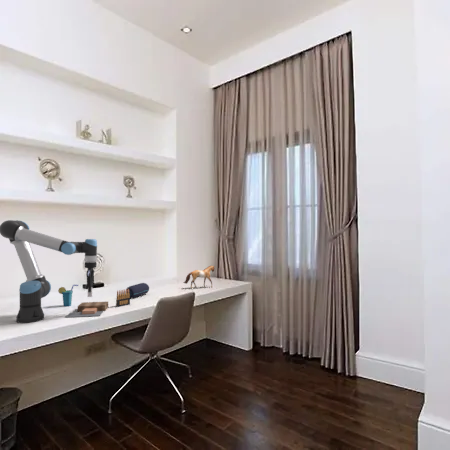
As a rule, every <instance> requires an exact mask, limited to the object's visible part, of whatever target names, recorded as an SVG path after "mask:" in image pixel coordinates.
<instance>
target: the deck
mask: <svg viewBox="0 0 450 450" xmlns="http://www.w3.org/2000/svg"><path fill="white" fill-rule="evenodd" d="M85 308H97V311H103V312H105V311H107V309H108V308H109V301H89V302H88V301H87V302H80V304H78V305H77V312H82V311H83V310H84V309H85Z"/></svg>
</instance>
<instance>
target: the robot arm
mask: <svg viewBox="0 0 450 450" xmlns="http://www.w3.org/2000/svg"><path fill="white" fill-rule="evenodd" d="M0 235H1V236H2V237H4V238H6V239H8V240H9V243H10V244H12V245H14V248H15V251H16V253H17V256H18V258H19V259H18V260H19V262H20V265H21V266H22V269H23V272H24V275H25V277H26V279H25V281H24V282H22V283H20V285H19V291H18V292H19V309H18V313H17V316H16V318H15V320H16V322H17V323H22V324H23V323H24V324H25V323H26V324H27V323H35V322H38V321H42V320H44V319H45V313H44V311H43V307H42V299H43V298H45V297H46V296H48V295H49V294H50V292H51V291H52V290H51V289H52V285H51V282H50V281H48V280H47V279H46V276H45V275H44V274H42V272H41V270H40V268H39V265H38V263H37V262H38V261H37V260H36V257H35V254H34V251H33V250H32V249H33V248H32V246H31V244H34V245H37V246H40V247H44V248H46V249H50V250H53V251H57V252H59V253H63V254H64V255H67V256H71V255H73V254H84V268H85V269H87V270H86V273H85V275H86V288H87V298H92V297H93V287H95V286H94V279H95V278H94V277H95V270H94V269H95V268H97V264H98V263H97V260H98V256H97V254H98V240H97V239H95V238H87V239H86V238H85V241H67V240H64V239H61V238H59V237H58V238H57V237H54V236H52V235H48V234H44V233H41V232H37V231H35V230H32V229H30V227H29V224H28V223H26V222H25V221H22V220H12V219H10V220H9V219H8V220H5V221H3V222H2V223H1V224H0Z"/></svg>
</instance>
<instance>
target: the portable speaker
mask: <svg viewBox="0 0 450 450" xmlns="http://www.w3.org/2000/svg"><path fill="white" fill-rule="evenodd" d="M126 289H127V291H128V289H129V298H130V299H135V298H138V297H141V296H144V295H146V294H148V292H149V291H150V286H149V284H147V283H145V282H140V283H138V284H137V283H136V284H133V285H129V286H128V287H127V288H126Z"/></svg>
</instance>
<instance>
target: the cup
mask: <svg viewBox="0 0 450 450" xmlns="http://www.w3.org/2000/svg"><path fill="white" fill-rule="evenodd" d="M75 286H76V287H79V284H72V287H71V289H70V290H67V289H66V288H65V287H63V286H61V287H59V288H58V293H59V294H60V295H62V301H63V302H62V304H63V307H71V306H72V301H73V289H74V287H75Z"/></svg>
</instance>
